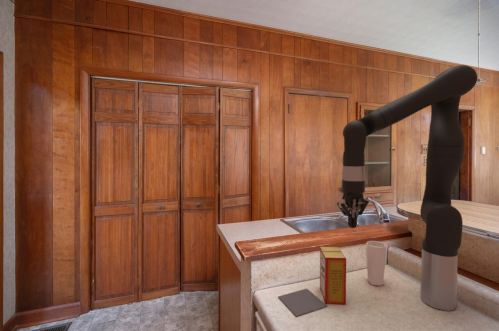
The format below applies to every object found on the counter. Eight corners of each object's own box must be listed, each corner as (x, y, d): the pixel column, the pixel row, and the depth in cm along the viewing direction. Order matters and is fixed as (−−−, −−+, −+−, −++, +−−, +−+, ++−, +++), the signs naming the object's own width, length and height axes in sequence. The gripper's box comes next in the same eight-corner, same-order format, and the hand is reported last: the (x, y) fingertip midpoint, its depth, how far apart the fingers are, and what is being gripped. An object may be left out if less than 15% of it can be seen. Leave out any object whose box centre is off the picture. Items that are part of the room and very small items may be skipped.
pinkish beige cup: (389, 287, 90) (390, 247, 89) (370, 287, 90) (371, 247, 89) (379, 277, 97) (380, 240, 96) (362, 277, 97) (363, 240, 96)
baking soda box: (345, 305, 80) (346, 257, 79) (325, 304, 81) (325, 256, 80) (338, 288, 89) (338, 245, 88) (319, 288, 90) (320, 245, 89)
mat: (306, 289, 89) (306, 288, 89) (327, 306, 79) (327, 305, 79) (278, 297, 85) (277, 296, 85) (296, 317, 74) (296, 315, 74)
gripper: (347, 181, 80) (346, 233, 81) (376, 179, 85) (374, 227, 86) (330, 178, 87) (330, 226, 88) (358, 177, 92) (357, 222, 93)
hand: (352, 227), depth 87 cm, fingers closed
